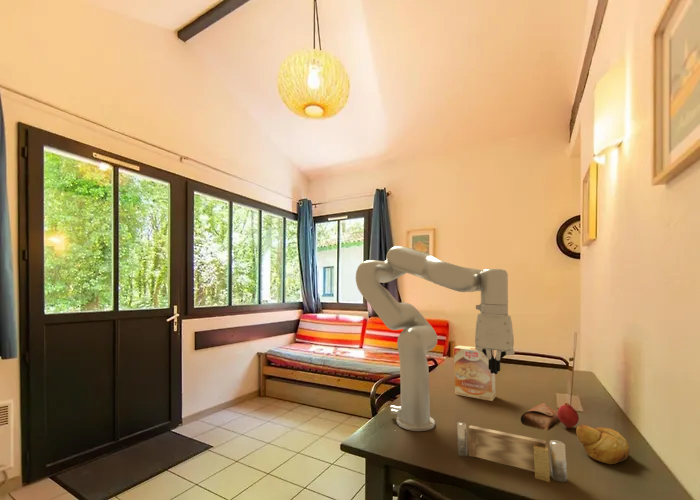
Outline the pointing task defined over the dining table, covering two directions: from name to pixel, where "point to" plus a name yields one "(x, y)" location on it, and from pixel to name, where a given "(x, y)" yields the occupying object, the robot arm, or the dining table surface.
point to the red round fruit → (568, 415)
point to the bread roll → (603, 444)
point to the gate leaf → (503, 447)
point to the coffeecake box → (473, 374)
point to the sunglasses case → (540, 416)
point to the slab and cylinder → (556, 462)
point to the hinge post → (462, 439)
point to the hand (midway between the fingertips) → (494, 372)
